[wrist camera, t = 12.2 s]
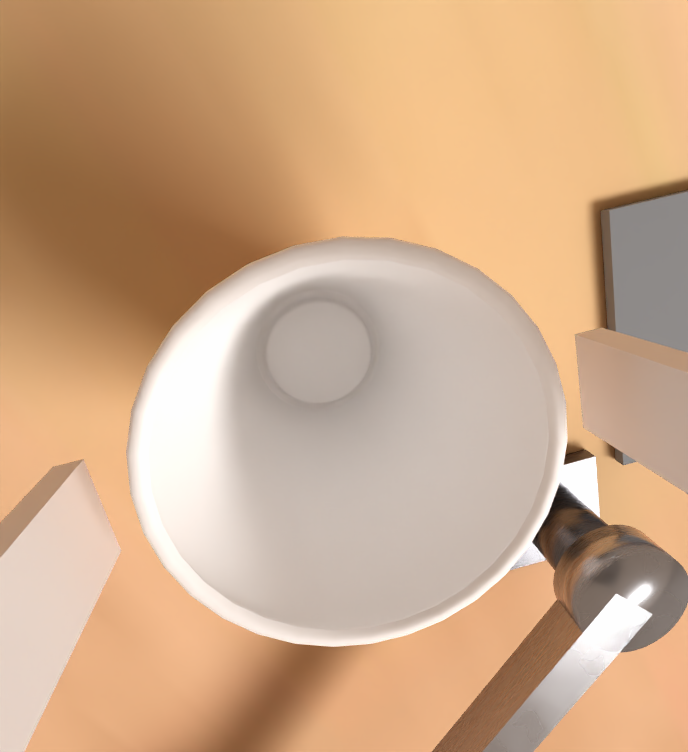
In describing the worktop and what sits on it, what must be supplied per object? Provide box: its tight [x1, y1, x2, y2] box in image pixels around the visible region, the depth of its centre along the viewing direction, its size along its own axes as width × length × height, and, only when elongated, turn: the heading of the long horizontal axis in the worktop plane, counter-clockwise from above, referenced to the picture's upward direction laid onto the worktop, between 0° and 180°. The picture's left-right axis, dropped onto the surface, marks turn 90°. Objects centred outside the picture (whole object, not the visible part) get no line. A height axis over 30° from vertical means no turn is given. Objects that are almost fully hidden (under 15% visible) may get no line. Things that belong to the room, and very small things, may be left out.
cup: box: [126, 237, 567, 647], centre depth 17 cm, size 10×10×11 cm
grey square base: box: [510, 450, 608, 570], centre depth 23 cm, size 5×5×5 cm
